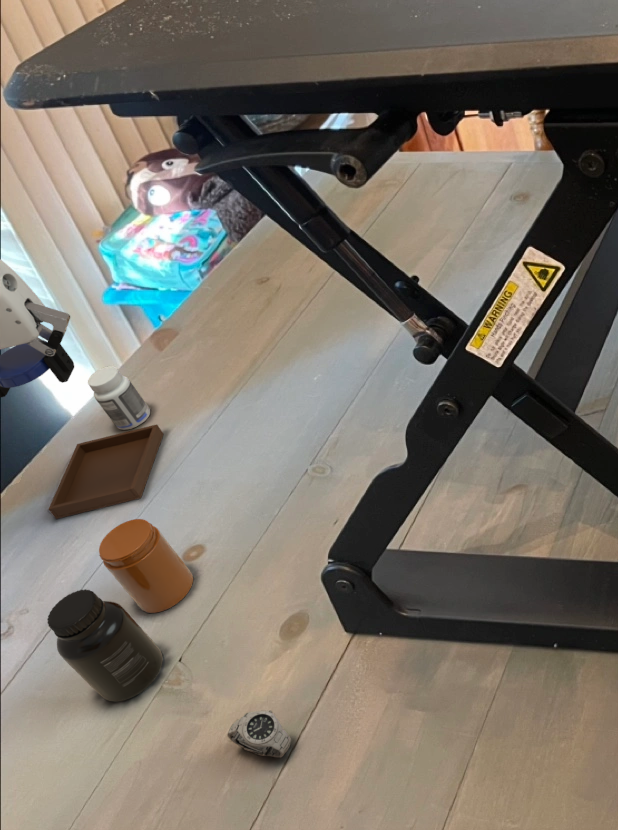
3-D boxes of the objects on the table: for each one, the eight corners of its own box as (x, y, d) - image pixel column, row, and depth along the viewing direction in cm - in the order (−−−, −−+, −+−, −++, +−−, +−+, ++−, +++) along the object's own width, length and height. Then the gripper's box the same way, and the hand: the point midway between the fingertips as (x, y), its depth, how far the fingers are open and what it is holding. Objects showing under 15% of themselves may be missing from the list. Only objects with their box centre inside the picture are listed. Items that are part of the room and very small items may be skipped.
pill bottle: (146, 402, 152) (115, 358, 147) (155, 417, 149) (124, 373, 143) (112, 420, 150) (80, 377, 145) (121, 436, 147) (88, 392, 141)
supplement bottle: (166, 637, 117) (109, 570, 110) (163, 687, 112) (104, 620, 105) (102, 663, 116) (41, 597, 109) (97, 714, 111) (31, 649, 103)
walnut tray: (56, 519, 136) (47, 509, 134) (84, 453, 145) (77, 443, 144) (141, 498, 136) (133, 488, 135) (163, 433, 145) (157, 424, 144)
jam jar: (133, 619, 120) (89, 568, 114) (145, 577, 125) (103, 525, 119) (188, 603, 121) (147, 551, 115) (197, 561, 125) (158, 510, 120)
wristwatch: (284, 768, 102) (261, 741, 99) (232, 757, 104) (208, 731, 101) (304, 734, 105) (282, 707, 101) (253, 724, 106) (230, 697, 103)
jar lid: (55, 372, 125) (47, 362, 124) (-6, 395, 123) (-14, 386, 122) (58, 342, 130) (50, 332, 129) (0, 363, 128) (-8, 354, 127)
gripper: (36, 228, 120) (117, 345, 131) (-116, 264, 120) (-21, 379, 131) (12, 265, 114) (99, 385, 125) (-148, 303, 114) (-46, 420, 125)
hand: (37, 381), depth 128 cm, fingers closed on jar lid, 6 cm apart
